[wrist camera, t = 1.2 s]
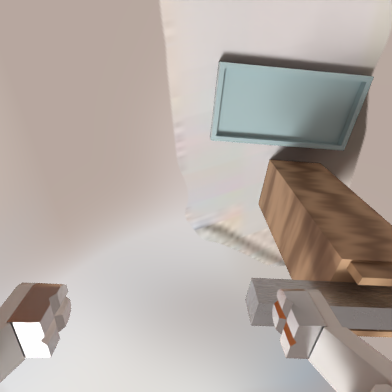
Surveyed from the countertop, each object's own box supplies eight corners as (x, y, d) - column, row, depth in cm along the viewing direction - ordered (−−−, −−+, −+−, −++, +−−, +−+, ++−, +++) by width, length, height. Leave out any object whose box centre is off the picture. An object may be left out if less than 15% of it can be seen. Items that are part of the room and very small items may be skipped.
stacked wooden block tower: (258, 203, 52) (317, 336, 28) (269, 159, 47) (353, 274, 23) (304, 206, 53) (401, 338, 28) (320, 163, 48) (454, 279, 23)
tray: (210, 136, 44) (210, 140, 43) (218, 61, 38) (220, 61, 37) (338, 146, 46) (343, 150, 44) (366, 75, 40) (373, 76, 38)
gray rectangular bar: (244, 302, 28) (252, 338, 24) (252, 274, 25) (262, 310, 22) (412, 308, 29) (442, 343, 25) (434, 283, 27) (470, 317, 23)
